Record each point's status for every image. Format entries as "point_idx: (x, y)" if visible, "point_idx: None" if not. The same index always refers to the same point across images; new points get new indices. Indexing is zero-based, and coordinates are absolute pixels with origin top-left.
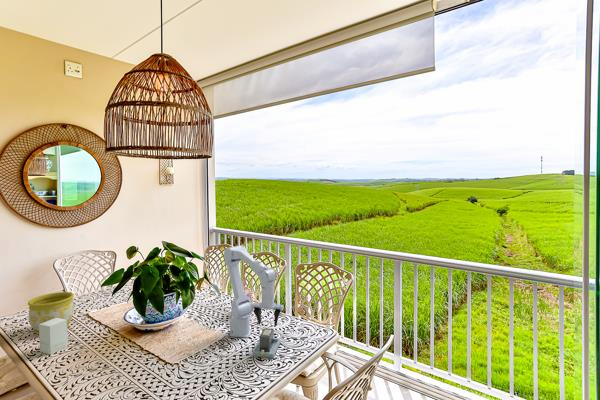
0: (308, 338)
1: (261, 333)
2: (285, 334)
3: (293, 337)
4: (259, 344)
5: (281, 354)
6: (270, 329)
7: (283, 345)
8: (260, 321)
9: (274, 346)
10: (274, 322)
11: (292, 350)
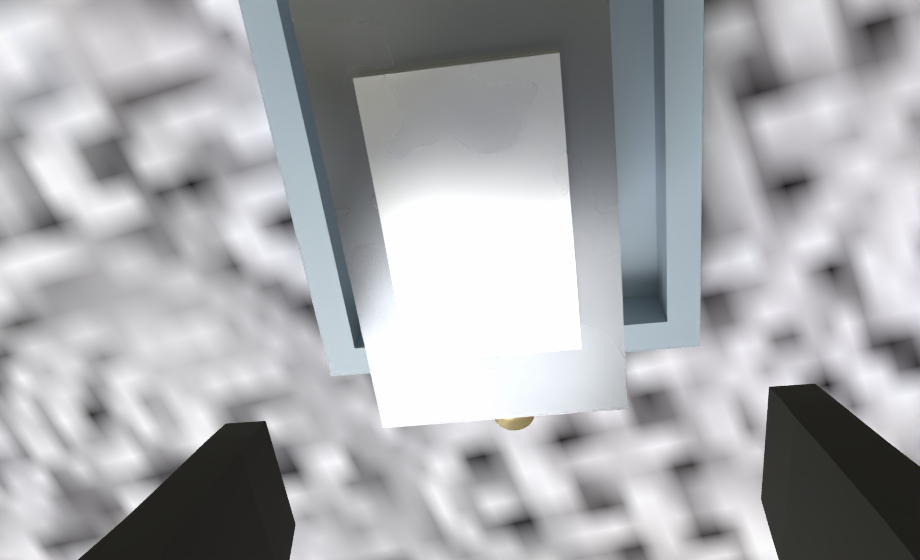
0: (14, 522)
1: (614, 145)
2: (367, 543)
3: None
4: (657, 156)
5: (154, 6)
6: (452, 393)
7: (259, 278)
8: (784, 497)
9: None
10: (209, 483)
11: (48, 181)
